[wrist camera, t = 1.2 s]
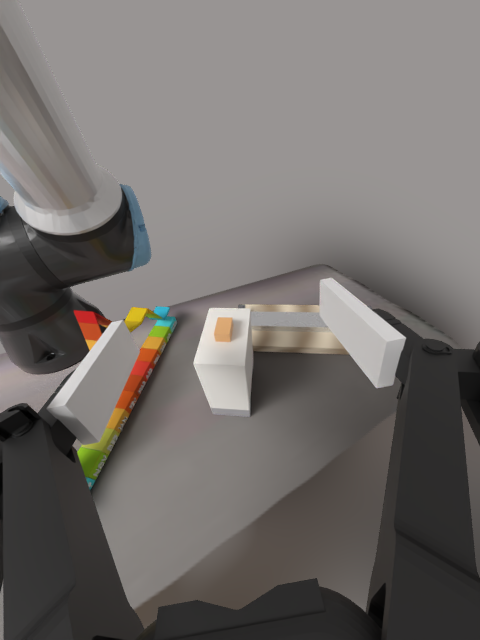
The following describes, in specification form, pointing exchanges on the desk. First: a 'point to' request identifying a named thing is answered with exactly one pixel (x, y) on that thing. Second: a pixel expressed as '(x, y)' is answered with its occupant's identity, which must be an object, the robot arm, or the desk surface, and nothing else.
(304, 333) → the rail board
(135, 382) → the chart
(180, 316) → the desk surface
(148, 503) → the desk surface
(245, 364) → the breaker module
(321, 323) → the steel rail
